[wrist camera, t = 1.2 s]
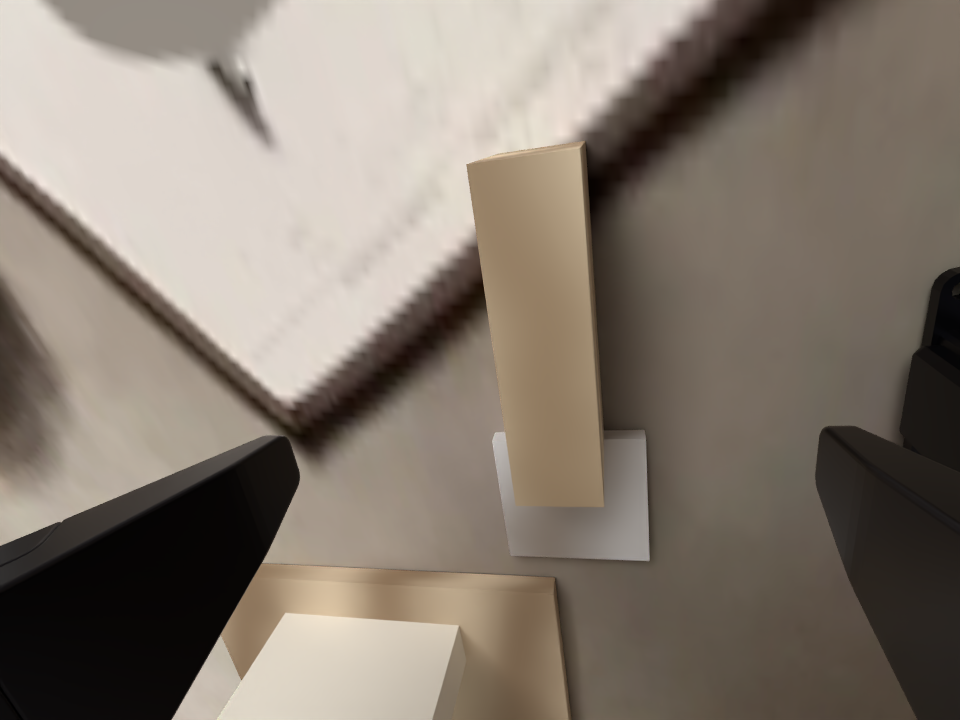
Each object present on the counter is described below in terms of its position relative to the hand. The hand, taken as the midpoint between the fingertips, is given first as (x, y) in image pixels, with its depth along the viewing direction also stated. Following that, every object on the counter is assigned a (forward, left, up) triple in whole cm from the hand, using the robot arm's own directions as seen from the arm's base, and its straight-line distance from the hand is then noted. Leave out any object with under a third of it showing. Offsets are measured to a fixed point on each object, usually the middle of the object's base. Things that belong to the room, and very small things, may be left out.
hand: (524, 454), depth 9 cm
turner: (0, +2, -8) cm, 9 cm away
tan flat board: (+9, +18, -8) cm, 22 cm away
